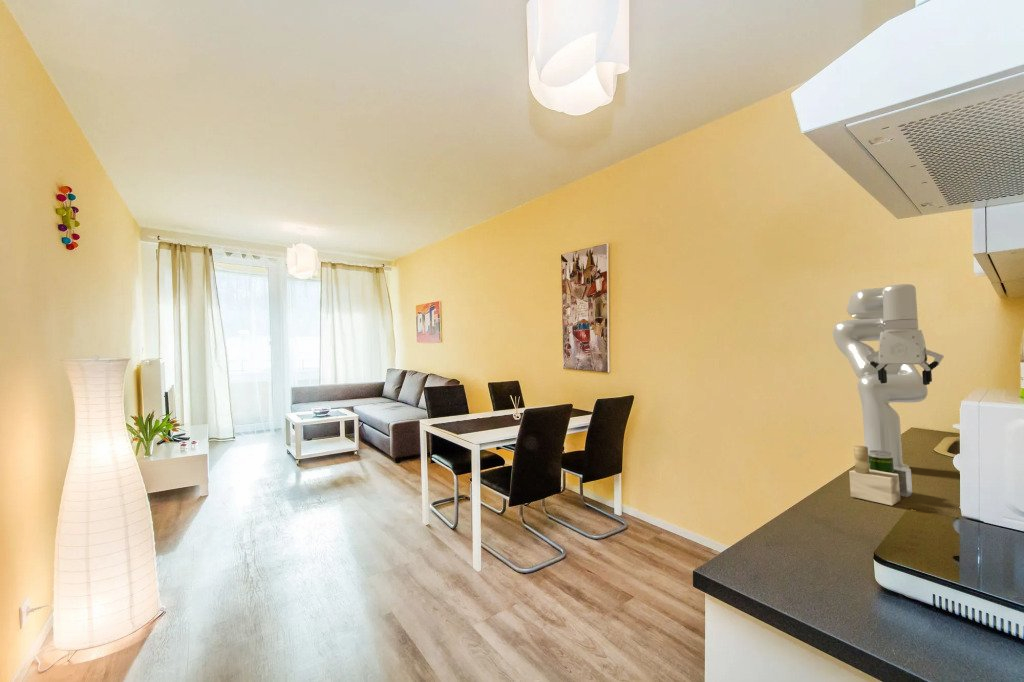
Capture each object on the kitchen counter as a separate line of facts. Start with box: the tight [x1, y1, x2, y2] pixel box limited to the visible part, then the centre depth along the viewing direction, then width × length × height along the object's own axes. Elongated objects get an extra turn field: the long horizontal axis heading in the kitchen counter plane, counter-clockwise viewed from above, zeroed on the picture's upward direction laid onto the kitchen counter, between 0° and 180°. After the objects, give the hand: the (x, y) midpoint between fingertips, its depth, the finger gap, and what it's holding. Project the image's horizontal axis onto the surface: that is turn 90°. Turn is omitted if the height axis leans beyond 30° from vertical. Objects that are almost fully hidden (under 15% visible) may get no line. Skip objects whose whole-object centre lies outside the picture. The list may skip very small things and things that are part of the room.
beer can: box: [868, 450, 894, 473], centre depth 120 cm, size 5×5×12 cm
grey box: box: [894, 466, 913, 498], centre depth 122 cm, size 4×9×7 cm, turn 32°
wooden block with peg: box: [848, 445, 901, 506], centre depth 117 cm, size 6×9×14 cm, turn 32°
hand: (904, 383), depth 126 cm, fingers open, 9 cm apart
